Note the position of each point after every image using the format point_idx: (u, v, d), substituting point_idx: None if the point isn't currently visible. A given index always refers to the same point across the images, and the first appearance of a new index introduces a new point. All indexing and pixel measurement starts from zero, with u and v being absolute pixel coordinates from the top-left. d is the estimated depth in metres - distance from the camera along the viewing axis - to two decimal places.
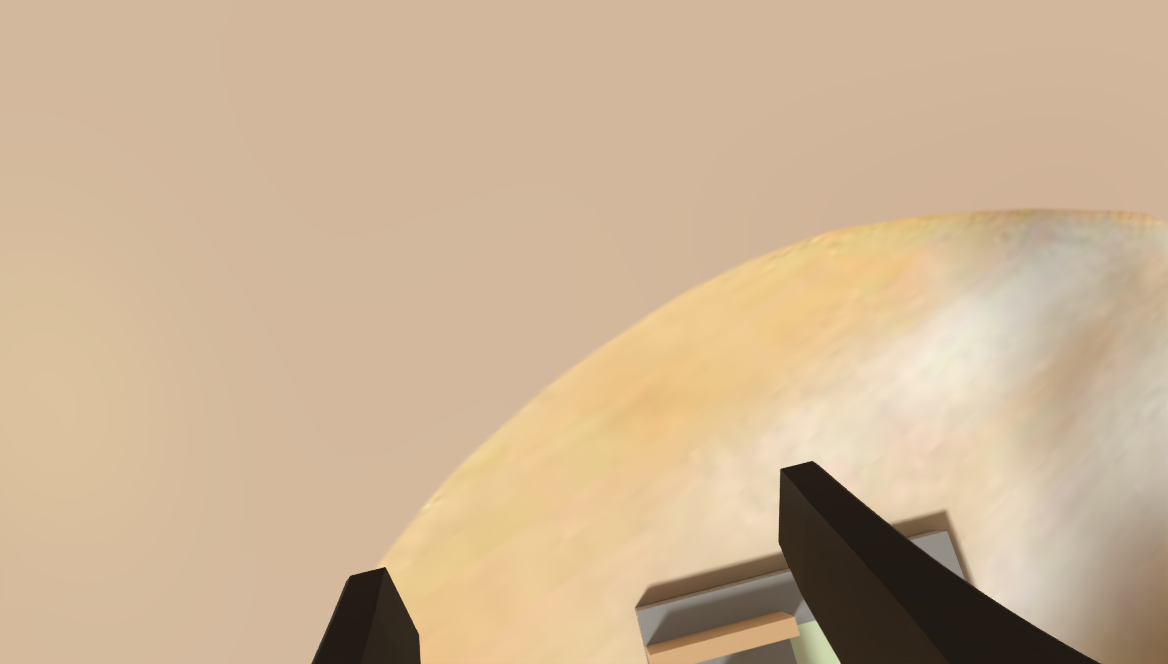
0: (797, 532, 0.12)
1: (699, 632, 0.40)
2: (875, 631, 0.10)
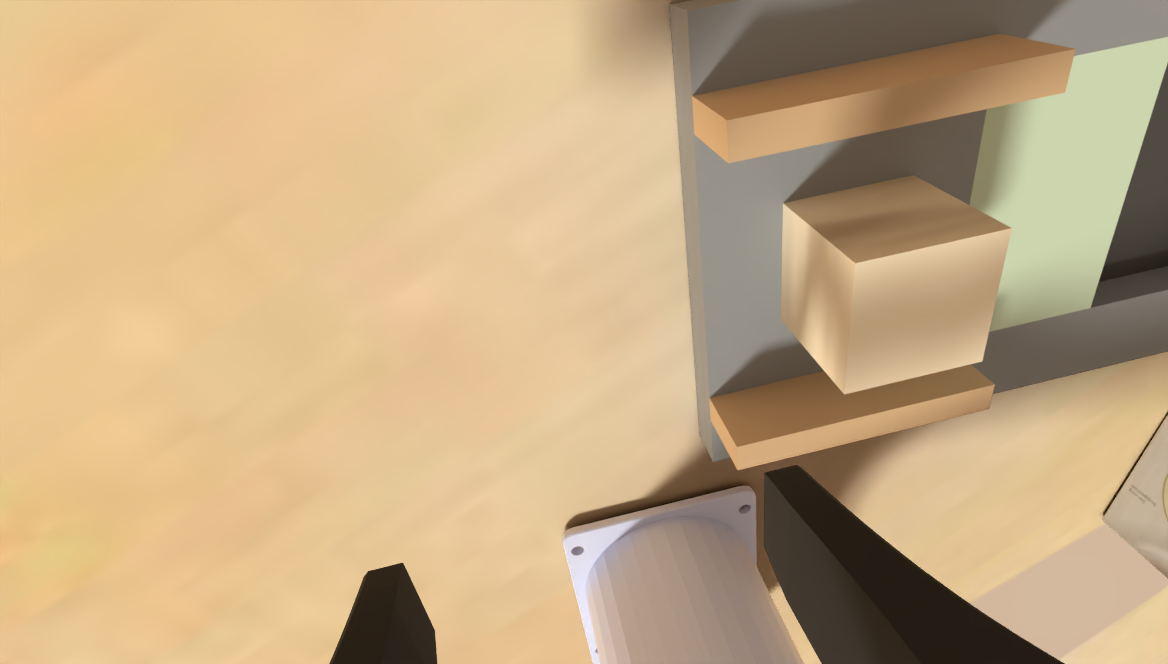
0: (781, 536, 0.12)
1: (817, 71, 0.17)
2: (856, 636, 0.10)
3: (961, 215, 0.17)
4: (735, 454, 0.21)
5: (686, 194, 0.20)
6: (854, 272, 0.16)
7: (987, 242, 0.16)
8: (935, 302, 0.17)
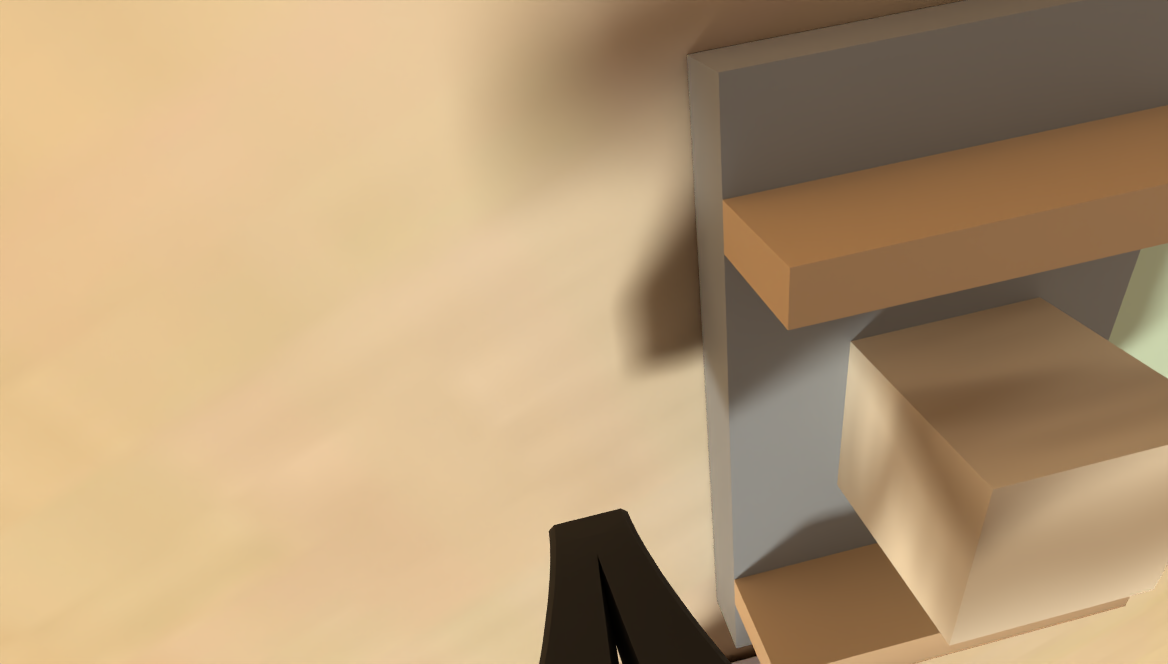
0: None
1: (917, 160, 0.11)
2: None
3: (1143, 390, 0.11)
4: None
5: (706, 322, 0.13)
6: (988, 500, 0.10)
7: None
8: (1104, 527, 0.11)
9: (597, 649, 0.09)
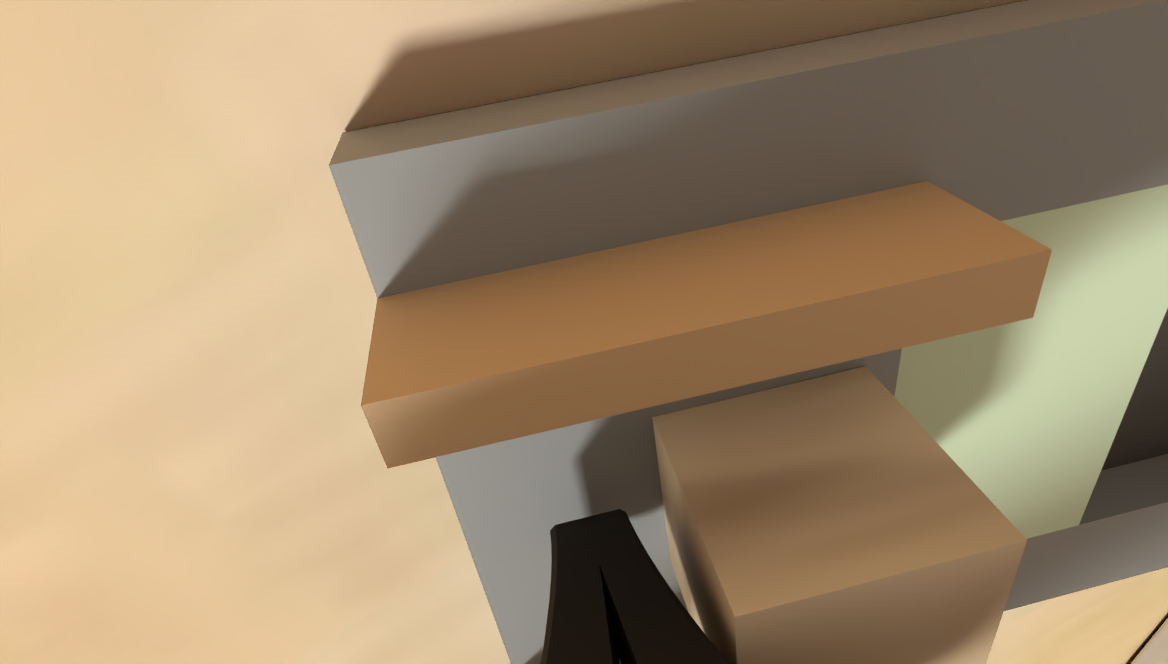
0: None
1: (602, 253, 0.10)
2: None
3: (936, 489, 0.10)
4: None
5: None
6: (734, 627, 0.09)
7: (983, 563, 0.09)
8: (890, 644, 0.10)
9: (598, 649, 0.09)
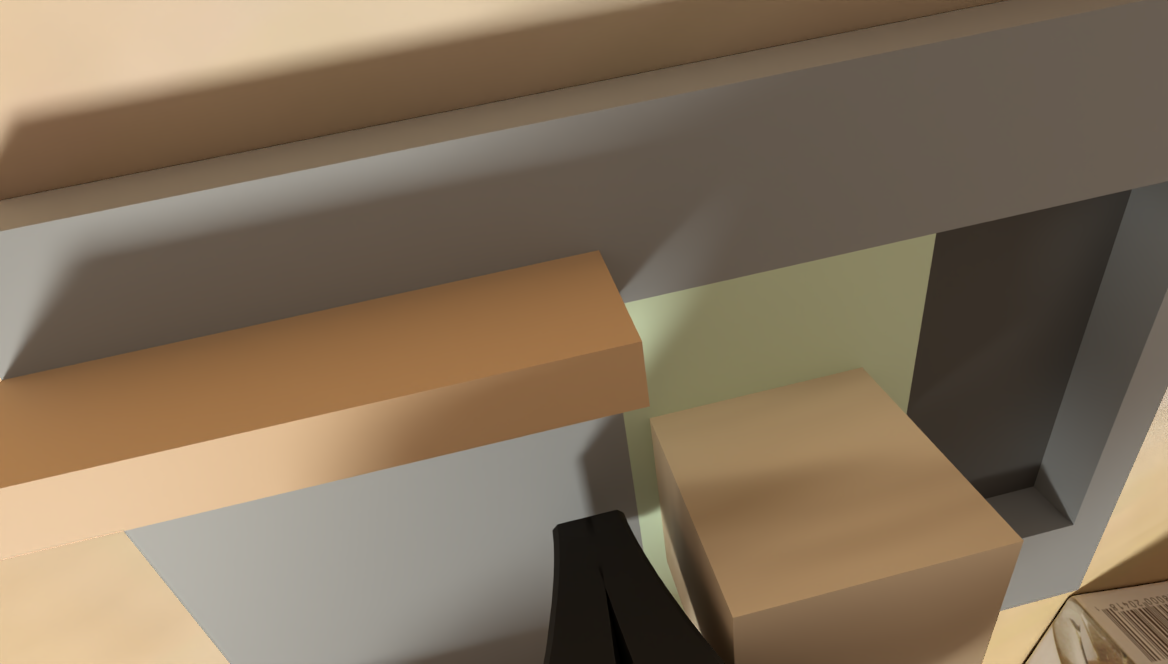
0: None
1: (242, 330, 0.09)
2: None
3: (933, 490, 0.10)
4: None
5: None
6: (733, 628, 0.09)
7: (979, 562, 0.09)
8: (886, 645, 0.10)
9: (601, 648, 0.09)
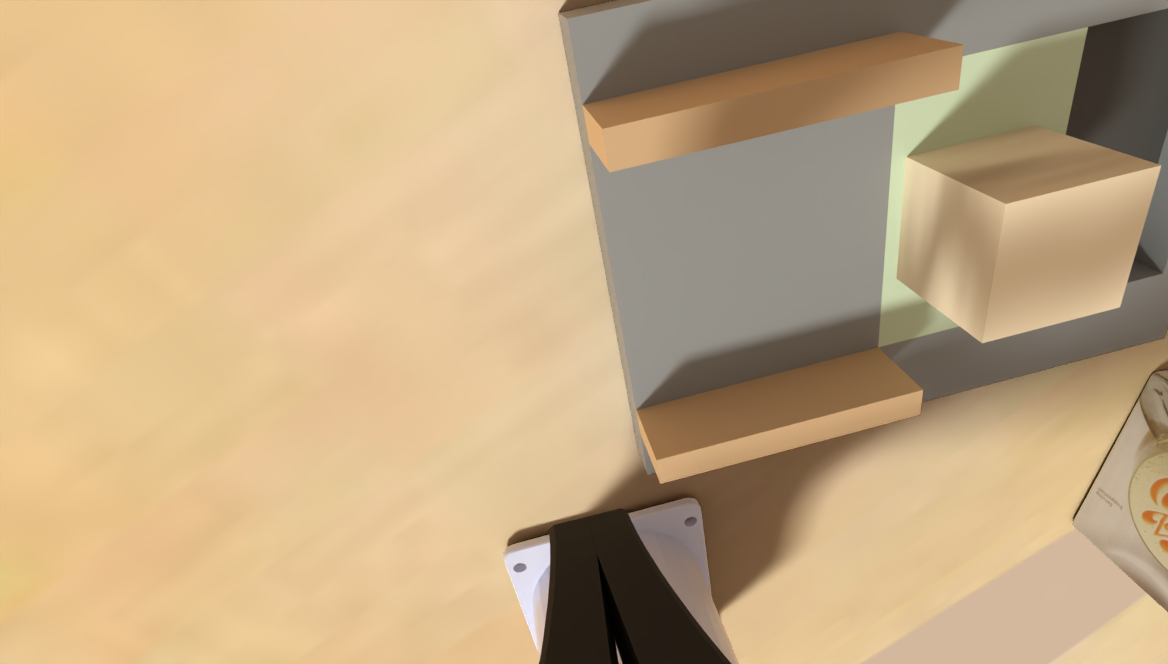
0: None
1: (710, 75, 0.17)
2: None
3: (1102, 157, 0.17)
4: (657, 467, 0.20)
5: (594, 204, 0.19)
6: (1003, 213, 0.16)
7: (1136, 180, 0.16)
8: (1079, 244, 0.17)
9: (597, 649, 0.09)
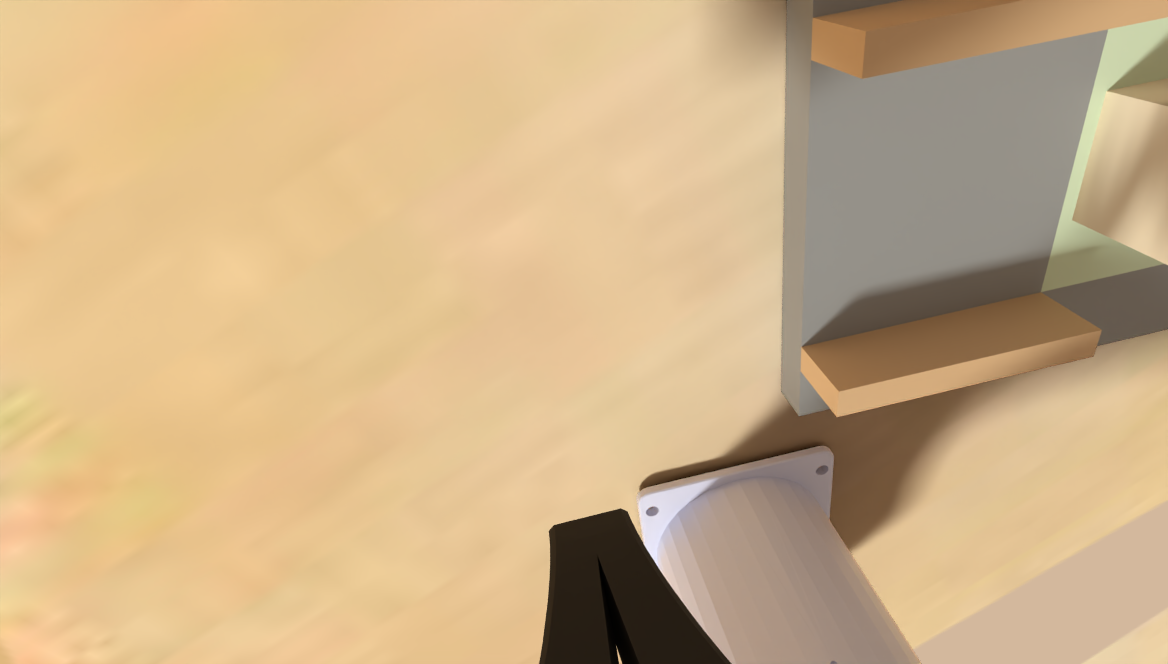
0: None
1: None
2: None
3: None
4: (835, 400, 0.20)
5: (790, 130, 0.19)
6: None
7: None
8: None
9: (597, 649, 0.09)
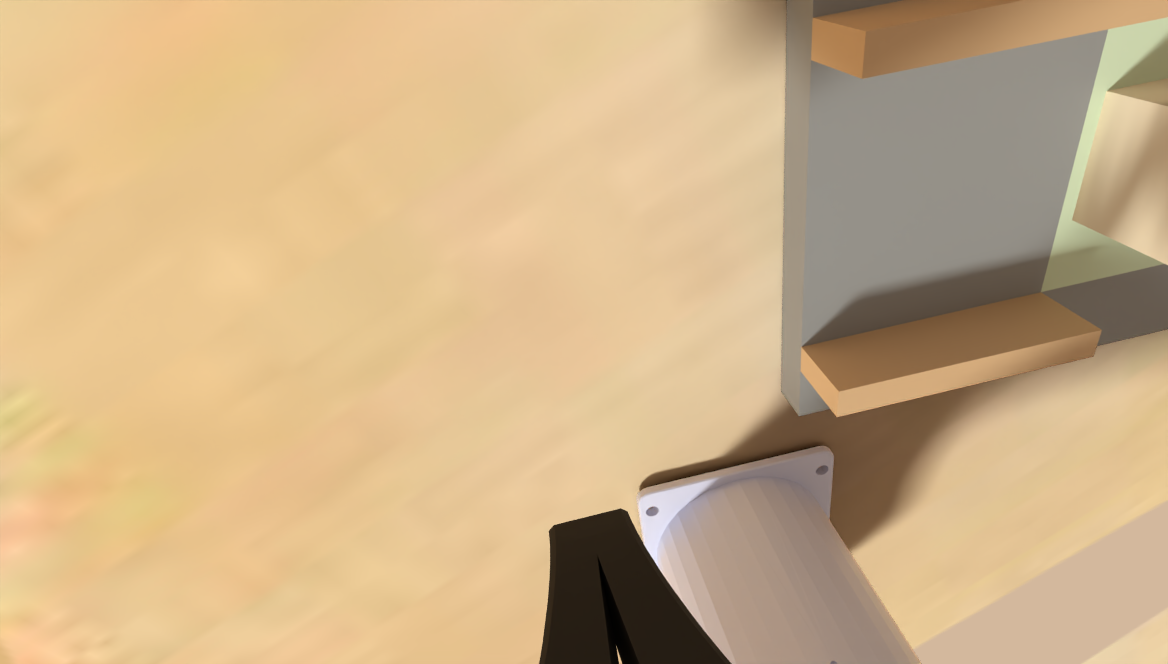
0: None
1: None
2: None
3: None
4: (835, 400, 0.20)
5: (790, 130, 0.19)
6: None
7: None
8: None
9: (597, 649, 0.09)
